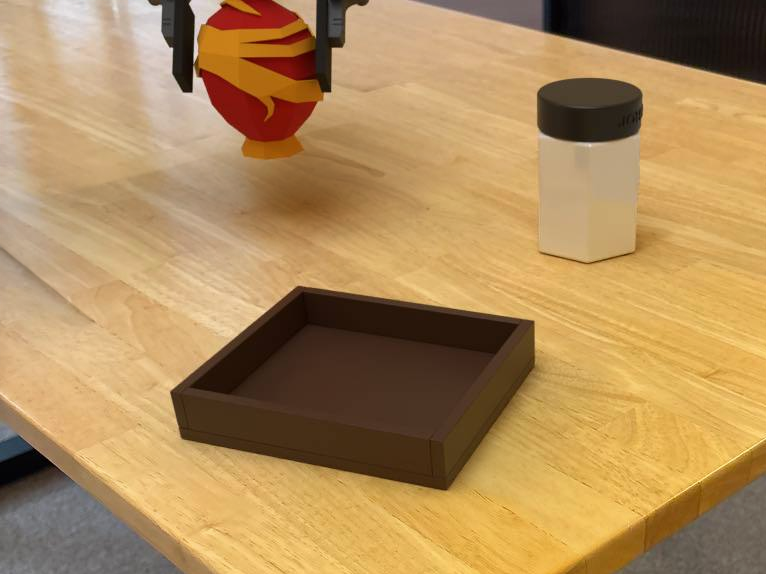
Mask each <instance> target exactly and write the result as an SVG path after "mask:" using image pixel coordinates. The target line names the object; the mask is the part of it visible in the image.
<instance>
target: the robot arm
mask: <svg viewBox="0 0 766 574" xmlns="http://www.w3.org/2000/svg"><path fill="white" fill-rule="evenodd" d="M147 2H148V3H149V4H150V5H151V6H153V7H158V6H161V21H160V22H161V27H160V32H161V34H162V37H163V39H164V41H165V42H166V44H167V46H168V48H169V49H172V61H171V62H172V68H171V75H172V76H173V78H174V80H175V82H176V83H177V85H178V87H179V88H180V90H181V92H182V94H193V92H194V62H195V32H196V31H195V29H196V15H195V13H194V10H193V9H192V7H191V5H190V3H191V2H192V0H147ZM369 2H370V0H315V6H316V7H315V38H316V61H315V74H316V77H317V80H318V83H319V86H320V89H321V92H322V93H324V94H326V93H327V94H329V93H332V81H333V80H332V77H333V75H332V73H333V71H332V70H333V69H332V68H333V67H332V66H333V64H332V63H333V49H343V48H344V47H345V43H346V22H347V21H346V15H347V11H348V9H349V8H351V7H352V6H355V5H357V6H358V7H364V6H367V5H368V4H369Z"/></svg>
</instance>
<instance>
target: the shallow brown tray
mask: <svg viewBox="0 0 766 574" xmlns="http://www.w3.org/2000/svg"><path fill="white" fill-rule="evenodd" d="M535 323H536V322H535V320H533V319H527V318H521V317H520V318H519V317H512V316H507V315H499V314H494V313H486V312H479V311H474V310H473V311H472V310H466V309H460V308H453V307H446V306H441V305H439V306H438V305H432V304H428V303H427V304H425V303H420V302H419V303H418V302H412V301H406V300H399V299H392V298H387V297H379V296H373V295H366V294H359V293H352V292H347V291H346V292H345V291H338V290H332V289H325V288H319V287H312V286H304V285H297V286H295V287H294V288H293V289H292V290H290V291H289V292H288V293H287V294H285V295H284V296H283V297H282V298H281V299H280V300H279V301H277V302H276V303H275V304H273V305H272V306H271V307H270V308H269V309H268V310H266V311H265V312H264V313H263V314H262V315H260V316H259V317H257V319H255V320H254V321H253V322H252V323H250V324H249V325H248V326H247V327H245V328H244V329H243V330H242V331H241V332H240V333H239V334H237V336H235V337H234V338H233V339H231V340H230V341H229V342H227V344H225V345H224V346H223V347H221V348H220V349H219V350H218V351H217V352H216V353H214V354H213V355H212V356H211V357H210V358H208V360H206V361H205V362H203V363H202V364H201V365H200V366H199V367H197V368H196V369H195V370H194V371H193V372H192V373H190V374H189V375H188V376H186V377H185V379H183V380H182V381H181V382H179V383H178V384H177V385H176V386H174V387H173V388H172V389H171V390H170V391H169V395H170V398H171V403H172V406H173V410H174V415H175V419H176V422H177V427H178V431H179V435H180V438H181V439H184V440H190V441H194V442H199V443H203V444H210V445H213V446H218V447H219V446H220V447H224V448H229V449H235V450H239V451H245V452H250V453H255V454H261V455H265V456H270V457H276V458H280V459H286V460H291V461H295V462H296V461H297V462H300V463H305V464H311V465H316V466H321V467H327V468H332V469H336V470H341V471H346V472H352V473H356V474H362V475H367V476H372V477H377V478H382V479H387V480H393V481H397V482H402V483H408V484H413V485H418V486H422V487H423V486H424V487H428V488H434V489H439V490H442V491H443V490H445V491H447V490H448V488H449V487H450V486H451V484H452V483H453V481H454V480H455V479H456V477H457V475H458V474H459V473H460V472H461V470H462V468H463V467H464V466H465V464H466V463H467V461H469V459H470V457H471V456H472V454H473V453H474V451H475V450H476V449H477V447H478V446H479V444H481V442H482V440H483V439H484V437H485V436H486V435H487V433H488V432H489V431H490V429H491V428H492V426H493V425H494V423H495V422H496V421H497V419H498V418H499V416H500V415H501V414H502V412H503V411H504V409H505V408H506V407H507V406H508V404H509V402H510V401H511V399H512V398H513V397H514V395H515V394H516V392H517V391H518V389H519V388H520V387H521V385H522V384H523V383H524V381H525V380H526V378H527V377H528V375H529V374H530V372H531V371H532V369H534V367H535V365H536V340H535V339H536V329H535V328H536V325H535Z"/></svg>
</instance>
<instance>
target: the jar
mask: <svg viewBox="0 0 766 574" xmlns="http://www.w3.org/2000/svg"><path fill="white" fill-rule="evenodd" d="M643 96H644V95H643V91H642V89H640V87H638V86H637V85H634V84H633V83H630V82H627V81H624V80H620V79H619V80H618V79H614V78H613V79H612V78H603V77H575V78H564V79H560V80H555V81H552V82H549V83H546V84H544V85H543V86H541V87H540V88H538V90H537V92H536V126H537V129H538V134H537V136H538V137H537V147H538V148H537V149H538V150H537V153H538V155H537V156H538V157H537V160H538V164H537V165H538V166H537V169H538V171H537V173H538V179H537V180H538V250H539V252H540V253H542V254H546V255H547V254H548V255H551V256H555V257H560V258H564V259H567V260H573V261H577V262H581V263H584V264H585V263H586V264H589V263H590V264H591V263H595V262H598V261H603V260H607V259H610V258H615V257H619V256H623V255H627V254H633V253H634V252H635V251H636V242H637V241H636V240H637V222H638V203H639V196H640V192H639V191H640V184H641V183H640V181H641V166H640V165H641V164H640V163H641V145H642V136H641V131H640V129H641V128H642V118H643V116H644V103H643Z"/></svg>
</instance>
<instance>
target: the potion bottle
mask: <svg viewBox="0 0 766 574" xmlns="http://www.w3.org/2000/svg"><path fill="white" fill-rule="evenodd" d="M219 6H220V8H219V9H218V10H217V11H216V12H214V13H213V14H212V15H210V17H208V18H207V20H206V22H205V23H202V24H200V27H199V31H198V33H197V37H196V42H197V56H196V58H195V59H194V67H193V70H194V73H195V76H196V78H199V79H202V82H203V85H204V88H205V90H206V93H207V96H208V98H209V101H210V104H211V106H212V107H213V108H214V109H215V111H217V113H218V114H219V115H220V116H221V117H222V118H223V119H224V121H225V122H226V124H228V125H229V126H230V127H232V128H233V129H234V130H236V131H237V132H238V133H240V134H241V135H243V136H244V137H245V139H244V141H243V143H242V145H241V147H240V150H241V153H242V156H243V157H245V158H251V159H256V160H261V161H268V160H277V159H287V158H291V157H293V156H295V155H297V154H299V153H301V152H303V151H305V148H304V146H303V144H302V142H301V141H300V140H299V139H298V137H297V136H296V135H295V134H296V133H297V132H298V131H299V129H300V128H301V127H302V126H303V125H304V124H305V123H306V121H308V119H309V118H310V117H311V116H312V114H313V112H314V110H315V108H316V106H317V104H318V102H324V96H325V95H324V94H325V93H322V92H321V89H320V86H319V83H318V80H317V77H316V74H315V61H316V35H315V34H314V32H313V31H312V29H311V27H310V25H309V24H308V23H306V22H305V20H304V19H303V17H302V16H301V15H300V14H299V13H298V12H297V11H295V10H290V9H288V8H287V7H285V6H284V5H281V4H279V3H278V2H277V1H275V0H223V1H222V2H220V3H219Z"/></svg>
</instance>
